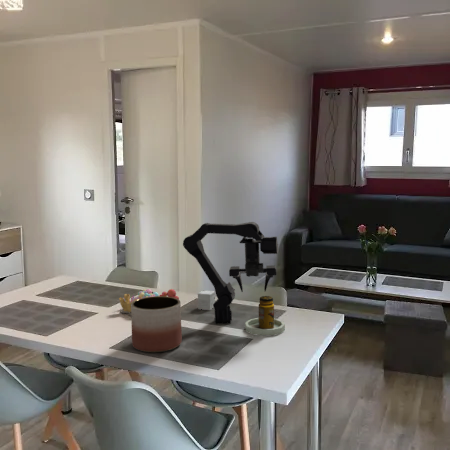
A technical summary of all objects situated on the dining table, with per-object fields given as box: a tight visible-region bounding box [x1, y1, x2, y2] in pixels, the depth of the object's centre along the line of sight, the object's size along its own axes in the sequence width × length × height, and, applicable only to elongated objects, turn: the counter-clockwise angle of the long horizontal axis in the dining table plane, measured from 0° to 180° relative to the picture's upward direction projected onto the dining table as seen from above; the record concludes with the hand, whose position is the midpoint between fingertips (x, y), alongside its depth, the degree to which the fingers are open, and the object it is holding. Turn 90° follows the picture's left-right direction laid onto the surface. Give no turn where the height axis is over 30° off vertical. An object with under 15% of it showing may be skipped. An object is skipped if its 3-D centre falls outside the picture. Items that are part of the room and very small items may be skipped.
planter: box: [130, 295, 183, 353], centre depth 180 cm, size 18×18×16 cm
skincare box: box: [197, 290, 216, 311], centre depth 225 cm, size 6×6×7 cm
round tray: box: [244, 317, 286, 337], centre depth 196 cm, size 15×15×2 cm
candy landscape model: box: [118, 288, 180, 316], centre depth 224 cm, size 25×24×9 cm
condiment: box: [251, 295, 276, 329], centre depth 195 cm, size 7×8×12 cm
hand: (253, 291), depth 203 cm, fingers open, 9 cm apart
